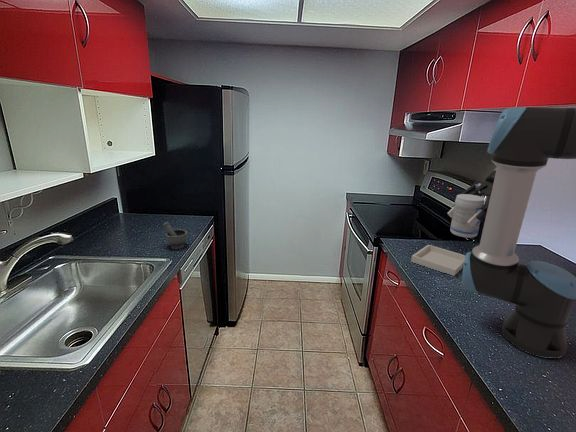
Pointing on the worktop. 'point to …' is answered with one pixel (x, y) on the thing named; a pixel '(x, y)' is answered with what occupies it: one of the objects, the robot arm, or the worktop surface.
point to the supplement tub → (466, 215)
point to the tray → (439, 259)
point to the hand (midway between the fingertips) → (459, 219)
